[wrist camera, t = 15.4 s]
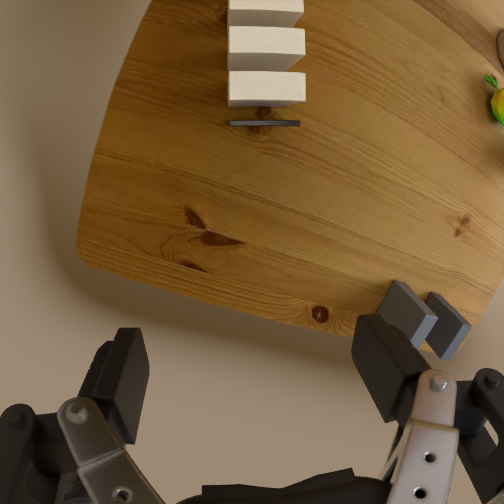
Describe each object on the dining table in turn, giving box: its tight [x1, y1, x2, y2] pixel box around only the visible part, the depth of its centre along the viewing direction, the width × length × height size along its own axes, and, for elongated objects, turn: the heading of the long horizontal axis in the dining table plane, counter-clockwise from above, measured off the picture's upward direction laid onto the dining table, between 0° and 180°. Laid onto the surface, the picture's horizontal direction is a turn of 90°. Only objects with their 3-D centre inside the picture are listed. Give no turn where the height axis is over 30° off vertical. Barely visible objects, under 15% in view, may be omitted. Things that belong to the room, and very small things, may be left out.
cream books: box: [227, 0, 305, 126], centre depth 24 cm, size 16×6×9 cm, turn 1°
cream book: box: [228, 71, 306, 107], centre depth 26 cm, size 2×6×9 cm, turn 90°
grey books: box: [376, 280, 472, 360], centre depth 39 cm, size 10×6×9 cm, turn 71°
